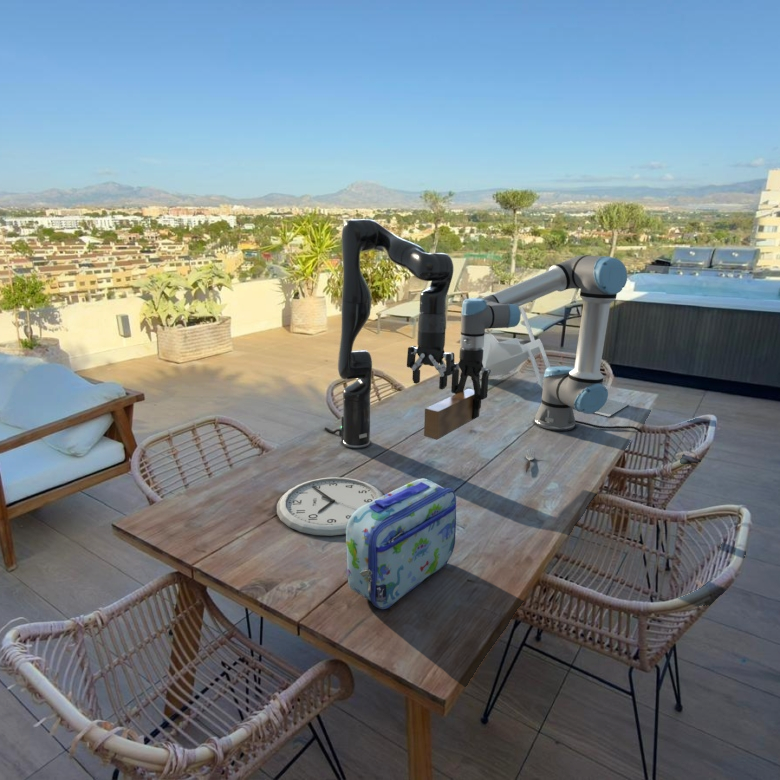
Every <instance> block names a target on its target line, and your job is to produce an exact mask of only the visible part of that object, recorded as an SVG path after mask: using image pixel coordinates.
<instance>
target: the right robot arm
mask: <svg viewBox="0 0 780 780" xmlns="http://www.w3.org/2000/svg"><path fill="white" fill-rule="evenodd" d="M627 281H628V271H627V267H626V265H625V264H624V262H623V261H622V260H621V259H619V258H617V257H612V256H608V255H605V256H603V255H590V254H582V255H578V256H574V257H571V258H569V259H566V260H563V261H561V262H559V263H556V264H554V265H552V266H550V267H549V269H548V270H547V271H545V272H542V273H539V274H537V275H535V276H533V277H531V278H528V279H526V280H524V281H520V282H518V283H516V284H514V285H511V286H509V287H506V288H504V289H502V290H499V291H497V292H495V293H492V294H489V295H487V296H483V297H473V298H465V299H464V300H463V301H462V305H461V313H460V315H461V321H460V339H459V341H460V342H459V346H460V348H459V355H458V356H459V357H458V358H459V361H458V362H454V374H451V387H450V389H451V390H450V392H451V393H452V394H453V395H455V394H458V393H460V392H462V391H464V390H465V387H466V383H467V379H468V377H470V379H471V381H472V387H473V390H474V394H475V399H474V400H473V409H472V419H474V420H475V419H478V418H479V417H478V409H480V410H481V407H482V401H483V400H485V399H487V398H488V389H489V378H490V376H489V374H490V372H491V370H490V369H486V368H484V367H483V364H482V360H483V349H482V348H483V347H484V334H486V333H485V331H486V330H489V329H509V328H515V327H517V326H518V325H519V323H520V321H521V316H522V313H521V310H520V307H521V306H523V305H526V304H528V303H531V302H533V301H535V300H538V299H540V298H542V297H544V296H547V295H549V294H552V293H554V292H560V293H561V292H564V291H567V290H571V289H579V290H580V291H579V297H580V299H581V300H582V301H583V304H582V309H581V310H582V311H581V317H580V323H579V324H580V325H579V332H578V339H577V346H576V351H575V352H576V354H575V361H574V366H566V365H565V366H564V365H562V366H561V365H559V366H558V365H557V366H550V367H549V368H546V369H545V370H544V375H543V380H542V381H543V389H542V394H541V402H540V405H539V407H538V410H537V411H536V413H535V416H534V424H535V425H536V426H537V427H539V428H542V429H544V430H549V431H556V432H567V431H572V430H574V429H575V428H576V424H580V425H584V426H589V427H591V428H592V427H593V428H597V429H608V430H609V429H611V430H612V429H632V430H636V431H637V432H639V433H640V434H641V433H642V434H643V431H642V429H640V428H639V427H637V426H633V425H622V426H621V425H613V426H609V425H608V426H607V425H597V424H593V423H589V422H584V421H580V420H577V419H576V418H575V417H576V416H575V413H574V409H575V410H576V411H577V412H580V413H583V414H587V415H590V414H596V413H595V412H597V411H598V410H599V409H600V408H602V407H603V406H604V404H605V403H606V401H607V400H608V399H609V391H608V389H607V387H606V386H605V385H604V384H603V383H604V374H603V373H602V372H601V365H602V361H603V360H602V359H603V353H604V347H605V341H606V334H607V327H608V322H609V314H610V309H611V303H612V302H614V301H615V300H616V299H617V296H618V293H620V292H622V291H623V288H625V287H626V285H627ZM460 371H461V372H460ZM480 371H482V373H481V374H482V377H480V375H479V373H480ZM480 378H481V381H480Z"/></svg>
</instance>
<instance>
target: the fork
mask: <svg viewBox="0 0 780 780" xmlns="http://www.w3.org/2000/svg"><path fill="white" fill-rule="evenodd" d="M535 455H536V450H534V452H533V449H532V450H531V448H529V451H527V453H526V456H525V458H526V460H528V461H527V463H526V464H525V473H528V470H529V469H530V467H531V461H533V460H534V459H535Z"/></svg>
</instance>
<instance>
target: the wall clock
mask: <svg viewBox="0 0 780 780" xmlns="http://www.w3.org/2000/svg"><path fill="white" fill-rule="evenodd" d="M384 495H385V494H384V493H383V492H382V491H381V490H380V489H379V488H377V487H376V486H374V485H372V484H371V483H369V482H365V481H362V480H359V479H355V478H349V477H338V476H337V477H335V476H333V477H332V476H331V477H322V478H317V479H312V480H307V481H305V482H302V483H299V484H297V485H295V486H293V487H292V488H290V489H288V490H287V491H286V492H285V493H284V494H283V495H281V496H280V498H279V499H278V502H277V503H276V515H277V517H278V518H279V520H280V521H281V522H282V523H283V524H285V525H286V526H287V527H288V528H290V529H293V530H295V531H297V532H299V533H303V534H308V535H312V536H327V537H328V536H329V537H331V536H332V537H333V536H342V535H346V528H347V524H348V521H349V519H350V517H351V515H352V514H353V513H354V512H355V511H356V510H357V509H358V508H360V507H362V506H364V505H366V504H368V503H370V502H372V501H374V500H376V499H378V498H380V497H382V496H384Z"/></svg>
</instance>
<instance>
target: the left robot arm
mask: <svg viewBox="0 0 780 780" xmlns="http://www.w3.org/2000/svg"><path fill="white" fill-rule="evenodd" d="M370 251H378V252H383V253H385V254H386V256H387V258H388V259H389V260H390V262H392V263H394V264H395V265H397V266H399V267H401V268H403V269H405V270H408V272H410V274H411V275H413V276H414V277H415V278H416V279H418V280H420V281H423V282H430V285H429V287H428V288H426V289H425V290H422V291H421V292H420V295H419V309H418V310H419V313H418V319H417V342H416V343H417V346H416V345H412V346H408V347H407V356H406V367H407V368H410V369H411V370H412V377H411V378H412V379H411V380H412V382H413V384H416V385H417V384H419V383H420V382H421V368H422V367H423V365H424V366H430V367H434V368H435V370H436V371H437V372H438V374H439V375H440V376H439V381H438V383H439V384H438V389H439V390H444V389H446V388H447V386H448V377H449V376H452V374H454V363H455V352H445V345H446V329H447V317H446V307H447V296H448V293H449V289H450V287H451V283H452V279H453V276H454V270H455V269H454V263H453V262H454V261H453V260H452V258H451V255H449V254H448V253H444V252H435V253H434V252H433V253H432V252H431V253H427V252H426V251H425V249H424V248H423V247H421V246H420V245H418V244H416V243H413V242H411V241H408V240H406V239H403V238H401V237H400V236H397V235H396V234H394V233H393V232H391V231H390V230H388V229H387V228H385V227H384V226H383V225H381V224H380V223H378V222H377V221H376V220H373V219H368V218H365V219H349V220H347V221H345V222H344V225H343V226H342V230H341V254H342V293H341V322H340V323H341V326H340V327H341V328H340V331H341V332H340V340H339V348H338V349H339V350H338V358H337V371H338V375H339V378H341V379H342V380H355V379H356V380H355V381H354V382H353V383H351V384H350V385H347V386H345V388H344V389H343V391H342V406H343V407H342V411H343V416H342V417H341V419H340V420H341V421H340V422H341V426H340V428H336V429H334V430H332V429H330V428H328V427H326V426H325V427H324V430H325V431H327V432H328V433H330V434H336V433H338V436H340V437H341V443H343V446H344V447H346V448H348V449H357V450H358V449H364V448H367V447H369V446H370V445H371V391H372V376H373V375H372V374H373V360H372V355H371V353H370V352H369V351H368V350H364V349H363V350H353V347H354V343H355V341H356V339H357V337H358V335H359V334H360V332H361V331H362V330H363V328H364V326H365V325H366V324H367V322H368V320H369V318H370V316H371V309H372V292H371V289H370V287H369V285H368V283H367V281H366V279H365V277H364V275H363V272H362V270H361V252H370ZM416 355H417V356H418V358H417V359H416ZM443 359H444V360H443Z"/></svg>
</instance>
